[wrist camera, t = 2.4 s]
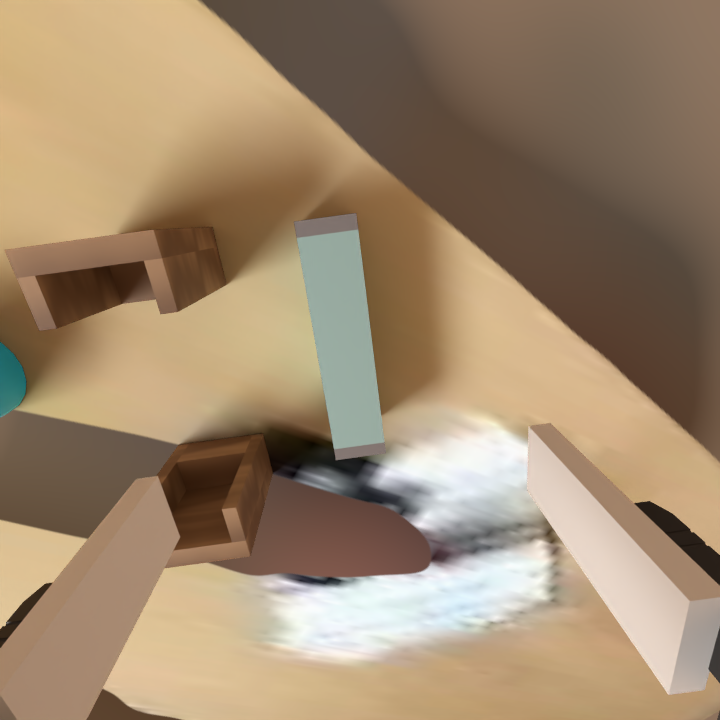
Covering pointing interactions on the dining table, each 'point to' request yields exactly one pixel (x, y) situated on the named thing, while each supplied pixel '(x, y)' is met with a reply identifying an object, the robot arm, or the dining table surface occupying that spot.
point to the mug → (10, 381)
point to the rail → (342, 332)
